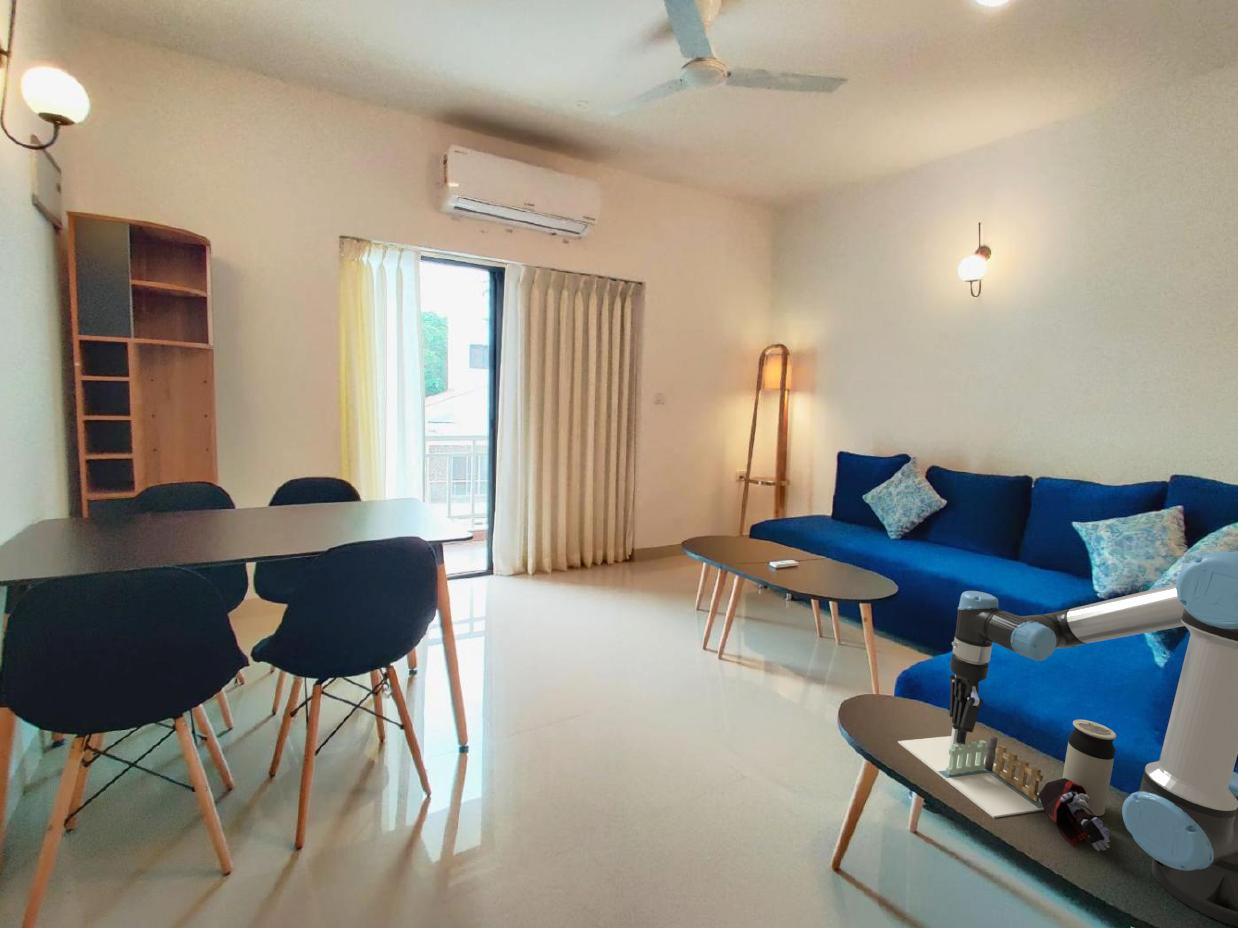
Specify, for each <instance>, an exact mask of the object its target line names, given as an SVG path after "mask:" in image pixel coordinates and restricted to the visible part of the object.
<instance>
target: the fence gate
mask: <svg viewBox="0 0 1238 928" xmlns="http://www.w3.org/2000/svg"><path fill="white" fill-rule="evenodd" d="M987 745H988V741H985V740H983V739H981V740H979V741H978V743H977V742H976V741H970V742H969V744H968V743H965V744H961V747H960V746H958V745H957V744H952V747H951V749H949V754H950V761H949V767H947V768H946V773H948V774H949V775H955V774H956V773H960V774H962V773H965V772H974V771H976V770H978V771H982V770H983V769H985V764H984V758H985V757H986V752H987V751H988V746H987ZM976 753H977V759H976ZM967 754H968V761H967V764H966V760H967ZM958 755H959V761H958V766H957V760H958ZM975 759H976V763H975Z"/></svg>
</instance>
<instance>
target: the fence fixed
mask: <svg viewBox="0 0 1238 928" xmlns="http://www.w3.org/2000/svg"><path fill="white" fill-rule="evenodd" d="M998 739H999V738H997V736H995V735H991V734H990V735H988V740H987V746H988V751H985V757H986V758H985V769H986V770H988V771H993V772H995V774H996V775H998V776H999V777H1000V776H1001V777H1002V778H1003V779H1005V781H1006V782H1008V783H1009V784H1012V785H1013V786H1015V787H1016V789H1017V790H1019V791H1020V792H1023V793H1025V794H1026V795H1028V797H1029V798H1030V799H1032V800H1035V801H1039V795H1038V794H1037V793H1038V789H1039V785H1040V782H1043V778H1044V776H1043V775H1042V774H1041V772H1042V771H1041V769H1040V768H1038V767H1037V766H1032V767H1030V766H1029V765H1030V762H1029V761H1028V760H1027V759H1025V758H1023V759H1020V760H1019V759H1018V757H1019V756H1018V754H1017V753H1015V752H1014V751H1009V753H1008V752H1007V751H1008V750H1007V749H1008V748H1007V747H1006V746H1005V745H1003V744H1000V745H998ZM997 745H998V747H997ZM996 755H997V756H996ZM995 759H996V763H995ZM1005 761H1007V766H1006V767H1007V768H1006V770H1005ZM994 763H995V764H996V766H994ZM1017 768H1018V769H1019V770H1018V775H1017V779H1018V780H1016V779H1015V778H1014V777H1016V776H1015V774H1016V770H1017ZM1003 770H1005V771H1007V773H1006V772H1005V771H1003ZM1028 775H1029V776H1030V779H1029V788H1028V787H1026V786H1025V785H1027V784H1026V783H1027V779H1028V778H1027V777H1028Z"/></svg>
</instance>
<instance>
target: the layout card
mask: <svg viewBox="0 0 1238 928" xmlns="http://www.w3.org/2000/svg"><path fill="white" fill-rule="evenodd" d="M950 742H951V735H950V736H949V735H948V736H936V737H927V738H925V737H924V738H917V739H907V740H898V741H897V744H899V745H900V746H901V747H903V748H904V749H905V750H906V751H908V752H909V753H910V754H912V755H913V756H914V757H916V758H917V759H918V761H920V762H922V763H923V764H924V765H925V766H926V767H929V769H931V771H933V772H934V773H936V774H937V775H938V776H939V777H941V778H942V779H943V780H944V781H945V782H947V783H949V784H950V785H951V786H952V787H953V788H955V789H956V790H957V791H958V792H960V793H961V794H962V795H964V796H965V797H966V799H967V798H968V799H969V800H970V801H971V802H973V803H974V804H975V805H976V806H977V807H979V808H980V809H982V810H983V811H984V812H985V813H986V814H987V815H989V816H990V817H992V818H993V819H995V818H1000V817H1008V816H1015V815H1023V814H1028V813H1036V812H1043V811H1045V810H1044V808H1043V805H1042V803H1041V800H1040V798H1039V801H1035V800H1032V799H1030V798H1029V797H1028V795H1026V794H1025V793H1023V792H1020V791H1019V790H1017V789H1016V787H1015V786H1013V785H1012V784H1009V783H1008V782H1006V781H1005V779H1003V778H1002V777H1001V776H1000V777H999V776H998V775H996V774H995V772H993V771H988V770H986V769H983V770H982V771H978V770H976V771H974V772H965V773H962V774H960V773H956V774H955V775H949V774H948V773H946V768H947V767H949V761H950V754H949V749H950ZM985 758H986V756H985ZM985 758H984V764H985ZM976 759H977V753H976ZM976 759H975V763H976ZM958 761H959V755H958V760H957V766H958ZM967 761H968V754H967V760H966V764H967ZM994 766H996V763H995V762H994ZM1003 771H1005V772H1006V773H1007V770H1005V769H1004V770H1003ZM1014 778H1015V779H1016V780H1018V777H1016V776H1014ZM1025 786H1026V787H1028V788H1029V786H1028V784H1026V785H1025ZM1039 793H1040V792H1037V794H1038V795H1039Z"/></svg>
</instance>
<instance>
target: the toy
mask: <svg viewBox="0 0 1238 928" xmlns="http://www.w3.org/2000/svg"><path fill="white" fill-rule="evenodd" d="M1062 778H1063V777H1062ZM1062 778H1059V779H1056V780H1051V781H1048V782H1046V783H1045V784H1044V786H1043V787H1042V789H1041V790H1040V792H1038V793H1039V798H1040V800H1041V803H1042V805H1043V808H1044V810H1043V811H1044V812H1045V813H1046V814H1047V815H1048V816H1049V819H1050V820H1051V821H1053V822H1054V824H1055V825H1056V828H1057V829H1058V831H1059V833H1060V834H1061V836H1062V837H1063V838H1064V839H1065V840H1066V841H1067V843H1069V844H1070V846H1071V847H1072V848H1074V849H1076V847H1077V846H1078V843H1079V842H1080V841H1081V840H1083V841H1085V838H1087V837H1088V838H1089V842H1090V844H1091V846H1092V847H1093V848H1094V849H1095V850H1096V851H1097V852H1100V851H1106V850H1107V849H1109V848H1111V846H1110V844H1109V843H1110V842H1111V839H1110V837H1111V835H1110V831H1109V828H1107V827H1105V826H1103V825H1104V822H1103V820H1101V819H1100V818H1098V816H1094V815H1089V814H1088V813H1089V812H1090V813H1091V810H1090V808H1089V806H1088V800H1089V796H1088V795H1086V791H1085V790H1084V788H1083V787H1082V786H1080V785H1078V784H1076V783H1074V782H1072V781H1070V780H1068V779H1066V778H1063V779H1062ZM1108 842H1109V843H1108Z"/></svg>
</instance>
